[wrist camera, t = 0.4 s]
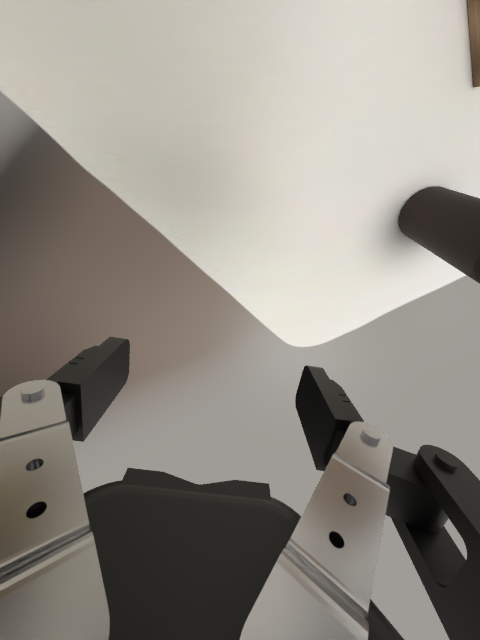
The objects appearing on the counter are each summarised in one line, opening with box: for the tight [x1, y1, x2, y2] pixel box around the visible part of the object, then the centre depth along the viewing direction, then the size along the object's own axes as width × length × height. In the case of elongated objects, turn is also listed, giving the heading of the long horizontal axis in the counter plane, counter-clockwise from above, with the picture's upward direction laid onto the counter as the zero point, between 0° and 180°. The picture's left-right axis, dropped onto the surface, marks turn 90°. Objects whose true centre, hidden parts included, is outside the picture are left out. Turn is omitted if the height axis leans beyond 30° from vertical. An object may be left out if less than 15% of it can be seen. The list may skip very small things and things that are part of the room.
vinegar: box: [399, 187, 480, 283], centre depth 28 cm, size 7×7×20 cm
